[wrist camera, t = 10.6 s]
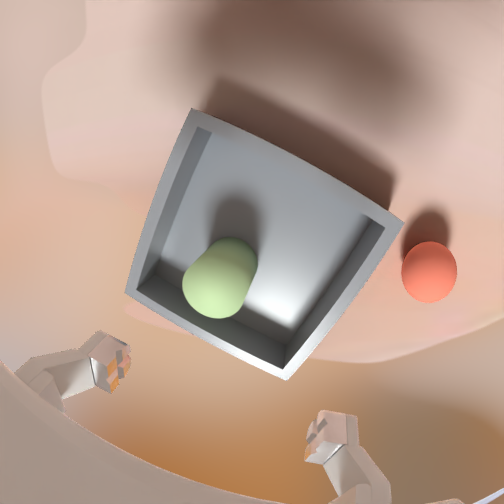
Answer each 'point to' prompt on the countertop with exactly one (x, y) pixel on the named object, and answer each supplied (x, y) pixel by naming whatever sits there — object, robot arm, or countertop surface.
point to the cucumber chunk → (220, 278)
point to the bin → (258, 242)
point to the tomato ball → (429, 272)
